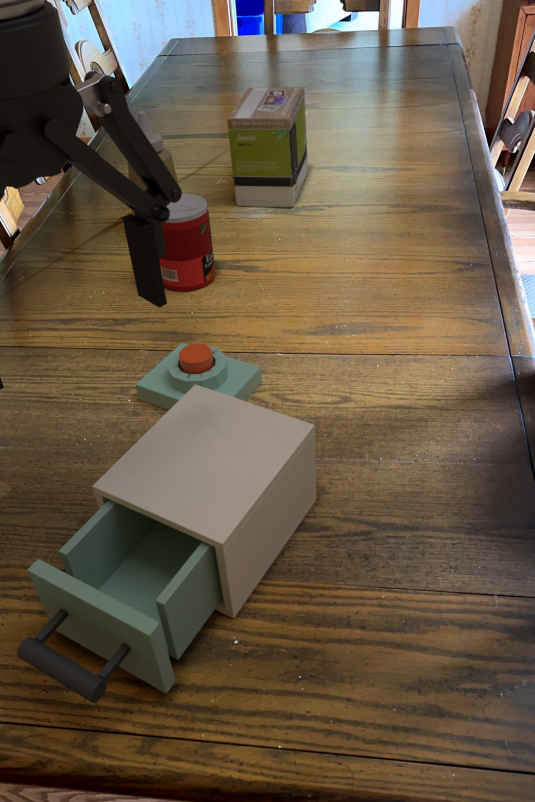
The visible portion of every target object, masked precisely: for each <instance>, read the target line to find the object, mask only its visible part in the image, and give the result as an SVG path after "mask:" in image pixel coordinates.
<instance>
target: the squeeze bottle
mask: <svg viewBox="0 0 535 802" xmlns="http://www.w3.org/2000/svg"><path fill="white" fill-rule="evenodd" d="M136 122H137V123H138V125H139V126H140V128H141V129H142V131H143V132H144V134H145V136H146V137H147V139H148V140H149V142H150V143H151V145H152V146H153V148H154V149H155V151H156V152H157V154H158V155H159V157H160V158H161V160H162V161H163V163H164V164H165V166H166V167H167V169H168V170H169V172H170V173H171V175H172V176H173V178H174V179H175V181H176V182H177V184H178V185H179V186H180V184H179V181H178V177H177V172H176V168H175V165H174V160H173V156H172V153H171V151H170V150H169V149H168V148H166V147H165V145H164V139H163V136H162V135H161V134H160V133H157V132H154V129H153V126H152V123H151V121H150V119H149V115H148V113H147V111H146V110H140V111H138V112H137V121H136ZM126 161H127V160H126ZM127 171H128V172H127V175H128V179H129V180H131V181H132V182H133V183H134V184H136V185H137V186H138V187H140V188H141V189H142V190H143V191H145V190H146V189H147V188H146V186H145V185H144V183H143V182H142V181H141V179H140V178H139V176H138V175H137V174H136V172H135V171H134V169H133V168H132V167H131V165H130V164H129V163H128V161H127ZM131 212H132V214H133V215H135V212H134V211H133V210H132V209H131Z"/></svg>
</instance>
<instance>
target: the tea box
mask: <svg viewBox="0 0 535 802" xmlns="http://www.w3.org/2000/svg"><path fill="white" fill-rule="evenodd" d="M305 95H306V94H305V87H304V86H289V87H284V86H283V87H251V86H250V87H248V88H247V89H246V91H245V92H244V93H243V94H242V97H241V98H240V99H239V101H238V103H236V105H235V106H234V108H233V110H232V111H231V113H230V115H229V116H228V117H227V119H226V120H227V121H226V122H227V131H228V141H229V147H230V148H229V150H230V151H229V152H230V159H231V170H232V177H233V187H234V196H235V197H234V198H235V204H236V206H237V207H252V208H253V207H255V208H256V207H259V208H293V207H294V206H295V204H296V201H297V199H298V196H299V194H300V192H301V189H302V187H303V184H304V182H305V179H306V177H307V174H308V171H309V160H308V140H307V117H306V98H305Z"/></svg>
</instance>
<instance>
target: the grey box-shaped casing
mask: <svg viewBox="0 0 535 802" xmlns="http://www.w3.org/2000/svg"><path fill="white" fill-rule="evenodd" d="M316 464H317V463H316V425H315V424H314V423H310V422H308V421H305V420H301V419H299V418H296V417H293V416H289V415H287V414H283V413H281V412H278V411H275V410H272V409H269V408H267V407H263V406H260V405H257V404H254V403H252V402H249V401H246V400H245V401H243V400H240V399H237V398H234V397H231V396H228V395H225V394H222V393H219V392H216V391H213V390H210V389H207V388H204V387H201V386H199V385H194V386H193V387H192V388H191V389H190V390H189V391H188V392H187V393H186V394H185V395H184V396H183V397H182V398H181V399H180V400H179V401H178V402H177V403H176V404H175V405H174V406H173V407H172V408H171V409H170V410H167V412H166V413H165V414H164V415H163V416H161V418H159V420H157V421H156V422H155V423H154V424H153V425H152V426H151V428H149V429H148V430H147V431H146V432H145V433H144V434H143V435H142V436H141V437H140V438H139V439H138V440H137V441H136V442H135V443H134V444H133V445H132V446H131V447H130V448H129V449H128V450H127V451H126V452H125V453H123V455H122V456H121V457H120V458H119V459H118V460H117V461H116V462H114V464H113V465H112V466H111V467H110V468H109V469H108V470H107V471H106V472H105V473H103V474H102V475H101V477H100V478H99V479H98V480H97V481H95V483H94V484H93V485H92V490H93V494H94V497H95V501H96V503H97V506H98V510H99V509H100V508H101V507H102V506H103V505H104V504H105V503H106V502H107V501H108V500H109V499H110V500H112V501H114V502H117V503H119V504H121V505H123V506H125V507H128V508H130V509H132V510H134V511H137V512H139V513H141V514H143V515H146V516H148V517H150V518H152V519H154V520H157V521H159V522H161V523H163V524H166V525H168V526H170V527H172V528H174V529H177V530H179V531H181V532H183V533H186V534H188V535H190V536H192V537H195V538H197V539H199V540H201V541H203V542H206V543H208V544H210V545H212V546H215V551H216V557H217V563H218V569H219V575H220V581H221V587H222V593H223V599H222V600H221V601H220V603H219V604H218V606H217V607H216V608H215V610H216V611H218V612H220V613H222V614H223V615H225V616H228V617H230V618H232V619H235V618H236V616H237V615H238V613H239V612H240V611H241V609H242V608H243V606H244V605H245V604H246V602H247V601H248V600H249V598H250V596H251V595H252V593H253V592H254V591H255V589H256V588H257V586H258V585H259V583H260V582H261V581H262V579H263V578H264V576H265V574H266V573H267V571H269V568H270V567H271V566H272V564H273V563H274V562H275V560H276V558H278V556H279V554H280V553H281V552H282V550H283V548H284V547H285V546H286V544H287V543H288V541H290V539H291V537H292V535H293V534H294V533H295V531H296V530H297V528H298V527H299V525H300V524H301V523H302V521H303V520H304V518H305V517H306V515H307V514H308V512H309V511H310V510H311V508H312V506H313V505H314V504H315V503H316V501H317V470H316V469H317V467H316ZM215 610H214V611H215Z"/></svg>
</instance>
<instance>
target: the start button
mask: <svg viewBox="0 0 535 802" xmlns="http://www.w3.org/2000/svg"><path fill="white" fill-rule="evenodd" d="M209 346H210V345H207V344H204V343H191V344H189V345H188V346H185V347H184V348H182V349H181V351H180V352H179V359H180V365H181V369H182V371H183V372H184V373H187V374H202V373H204V372H207V371H210V370H211V369H212V367H213V357H212V350H211V348H210V347H209Z"/></svg>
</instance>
